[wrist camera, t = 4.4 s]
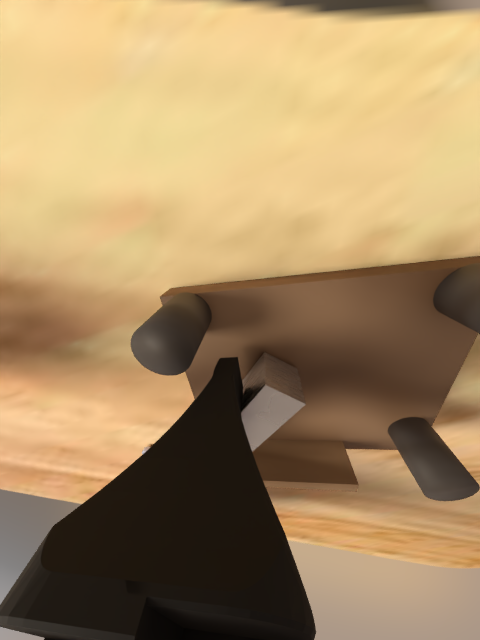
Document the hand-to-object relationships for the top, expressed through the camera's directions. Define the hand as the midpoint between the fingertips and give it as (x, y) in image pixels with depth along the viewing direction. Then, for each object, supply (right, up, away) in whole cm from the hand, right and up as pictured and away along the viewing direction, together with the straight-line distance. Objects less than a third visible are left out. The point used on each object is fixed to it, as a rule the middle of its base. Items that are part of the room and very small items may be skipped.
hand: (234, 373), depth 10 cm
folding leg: (+1, -2, +2) cm, 3 cm away
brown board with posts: (+4, 0, +2) cm, 5 cm away
